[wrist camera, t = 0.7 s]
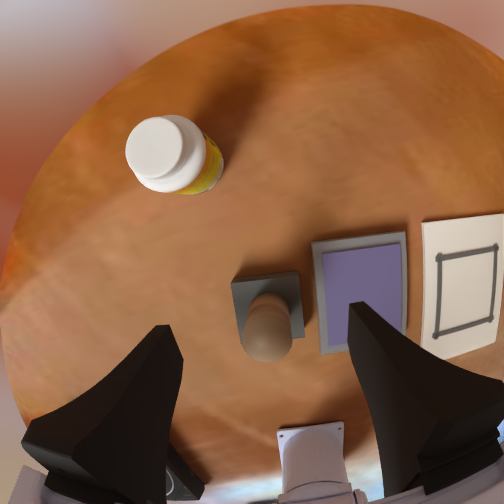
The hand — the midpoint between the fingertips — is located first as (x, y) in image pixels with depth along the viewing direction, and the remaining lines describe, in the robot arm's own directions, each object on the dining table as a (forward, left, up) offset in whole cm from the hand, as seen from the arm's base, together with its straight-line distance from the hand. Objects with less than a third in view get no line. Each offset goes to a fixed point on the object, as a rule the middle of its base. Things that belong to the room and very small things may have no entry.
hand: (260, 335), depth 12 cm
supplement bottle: (+10, +6, -17) cm, 20 cm away
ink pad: (-4, -8, -16) cm, 19 cm away
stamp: (-4, +1, -16) cm, 17 cm away
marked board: (-6, -21, -16) cm, 28 cm away
